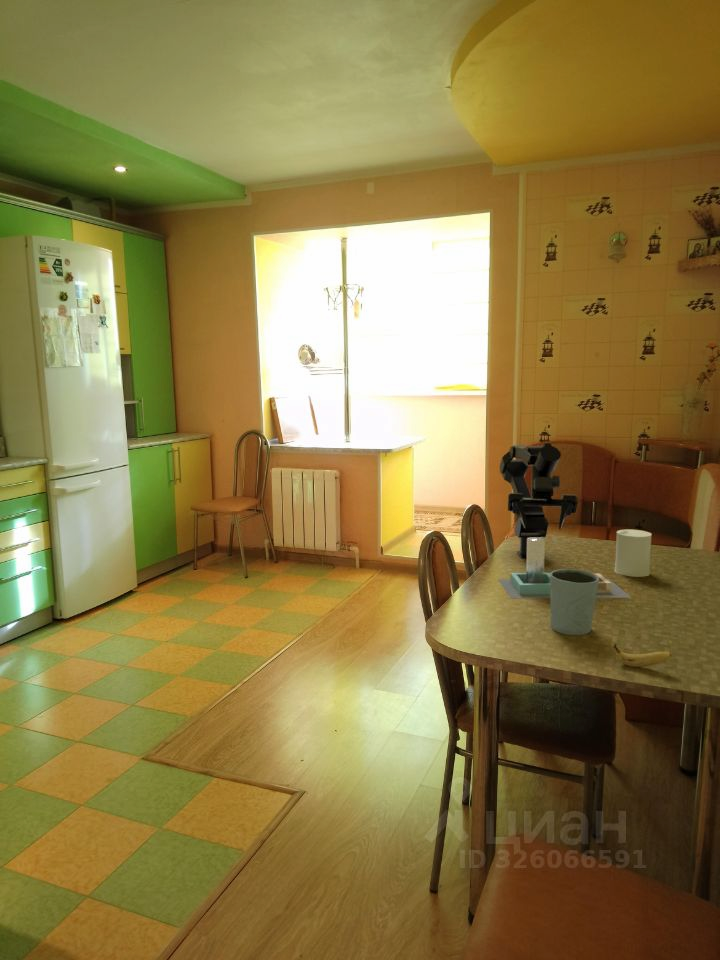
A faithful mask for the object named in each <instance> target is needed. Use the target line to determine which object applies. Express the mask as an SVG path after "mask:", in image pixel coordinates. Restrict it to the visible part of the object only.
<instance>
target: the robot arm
mask: <svg viewBox="0 0 720 960" xmlns="http://www.w3.org/2000/svg"><path fill="white" fill-rule="evenodd" d="M561 455H562V453H561V451H560V450H559V449H558V448H557V447H555V446H554V445H552V442H551V443H550V442H544V443H543V445H542V446H541V445H540V446H536V445H535V446H531V445H530V446H527V445H521V444H520V445H512V446H510V447H509V450H508V451H507V452H506V453H504V455H503V456H502V457H501V460H500V464H499V473H500V474H501V476H502V478H503V480H504V481H505V482H507V483H509V484H510V485H511V489H512V491H513V492H510V493H508V495H507V511H509V512H512V514H514V515H515V514H516V516H517V517H518V518H517V520H516V523H515V526H514V535H515V536H516V537H517V538H518V539H520V540H519V541H520V543H519V550H517V551H516V554H517V555H518V556H519V557H520V558H521V559H527V538H530V537H539V538H546V537H547V534H548V529H549V528H548V527H549V522H548V518H547V517H546V515H545V513H544V510H543V509H544V508H543V507H556V508H557V507H558V508H560V511H559V512H560V513H559V520H558V530H560V531H561V530H562V527H563V524H564V521H565V519H566V518H567V517H568V516H571V515H572V514H575V513H576V512H577V507H578V503H579V501H578V496H577V495H576V494H564V493H563V494H562V495H561V499H560V498H559V499H558V498H557V499H556V498H555V499H554V498H553V497H554V489H560V486H561V484H560V482H561V481H560V476H559V475H552V473H553V472H554V471H555V469H556V468H557V466H558V463H559V461H560V459H561ZM514 458H515V459H514ZM529 466H532V467H531V469H530V478H531V479H530V484H531V485H530V488H531V489H529V486H528V484H527V480H526V479H525V478H526V475H527V471H528V469H529ZM530 490H531V491H530Z"/></svg>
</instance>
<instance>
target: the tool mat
mask: <svg viewBox="0 0 720 960" xmlns="http://www.w3.org/2000/svg"><path fill="white" fill-rule="evenodd" d="M604 578H605V579H607V580H608V581H609V582H610V583H611V593H596V599H632V596H630V594H629V593H627V592H625V591H624V590H623V589H622V588H621V587H619V586H618V585H617V584H616V583H615V582H613V581H612V580H611V579H609V578H608V577H607V578H606V577H604ZM497 580H498V582H499V583H500V585H501V586H502V588H503V589H504V590H505V592H506V594H507V595H508V596H509V598H510V599H513V600H516V599H517V600H518V599H519V600H520V599H525V600H528V599H531V600H532V599H533V600H534V599H550V597H551V596H550V594H523V595H520V594H519V593H518V592H517V590H516V589H515V588H514V586H513V585H512V584H511V582H510V578H505V579H504V578H499V579H498V578H497ZM524 584H526V583H524Z"/></svg>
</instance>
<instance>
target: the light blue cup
mask: <svg viewBox="0 0 720 960" xmlns="http://www.w3.org/2000/svg"><path fill="white" fill-rule="evenodd" d="M549 573H550V590H551V593H550V596H551V597H550V598H549V601H550V602H549V603H550V606H549V607H550V628H551V629H552V630H554V631H556V632H557V633H559V634H563V635H564V634H565V635H567V636H569V635H570V636H582V635H587V634H589V633H590V632H591V631H592V627H593V618H594V613H595V609H596V608H595V605H596V600H597V598H596V593H597V588H598V582H599V578H598V577H597V576H596V575H594V574H592V573H591V572H589V571H585V570H582V569H581V570H580V569H572V568H570V569H569V568H563V569H556V570H552V571H551V572H549Z"/></svg>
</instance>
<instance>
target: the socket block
mask: <svg viewBox="0 0 720 960" xmlns="http://www.w3.org/2000/svg"><path fill="white" fill-rule="evenodd" d="M592 574H594V575H596V576H597V577H598V578H599V582H598V588H597V593H611V583H610V582H609V581H608V580H607V579H605V578H606V577H604V576H603V575H602V574H601V573H596V572H595V573H592Z"/></svg>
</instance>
